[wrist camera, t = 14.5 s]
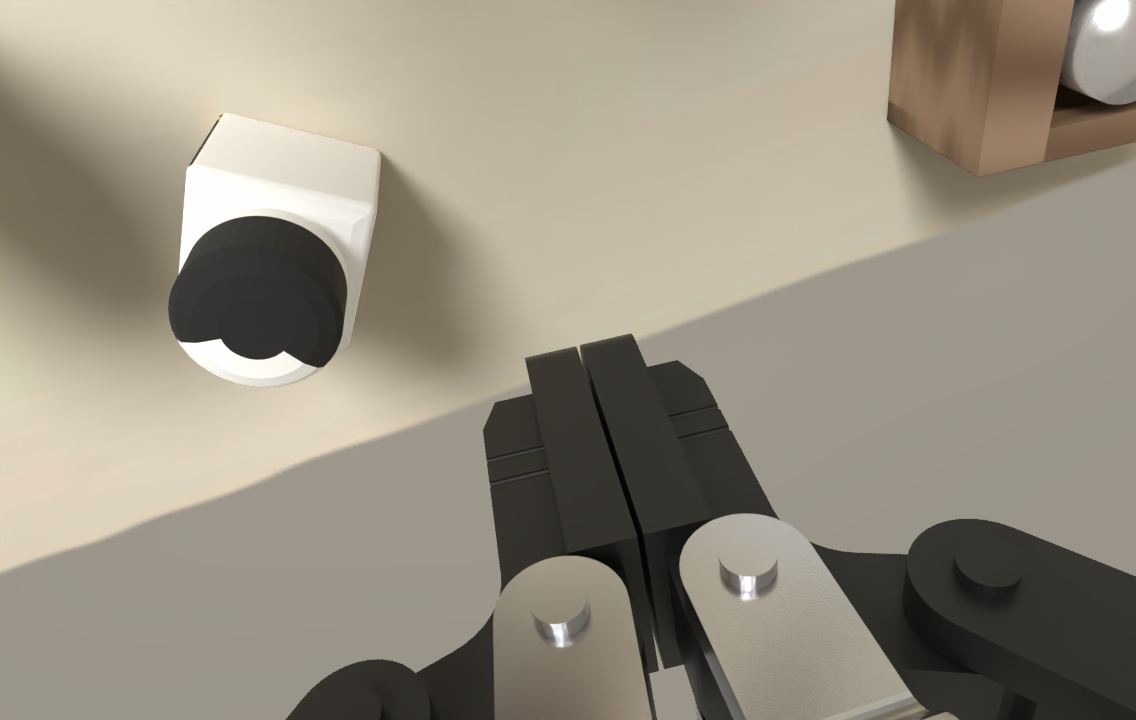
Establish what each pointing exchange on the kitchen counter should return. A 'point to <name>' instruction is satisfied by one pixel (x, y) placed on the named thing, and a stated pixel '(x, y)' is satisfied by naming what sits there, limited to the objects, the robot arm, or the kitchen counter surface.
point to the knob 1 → (1102, 51)
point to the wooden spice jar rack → (995, 85)
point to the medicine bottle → (272, 250)
